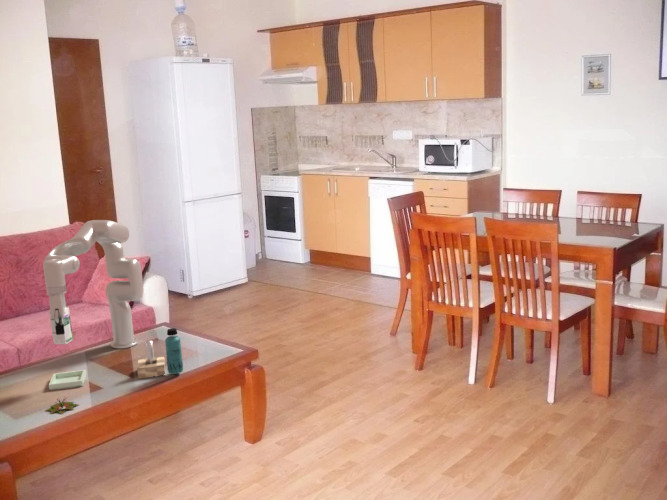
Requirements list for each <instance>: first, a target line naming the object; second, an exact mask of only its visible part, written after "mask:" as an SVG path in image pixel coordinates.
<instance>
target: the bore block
mask: <svg viewBox="0 0 667 500" xmlns="http://www.w3.org/2000/svg"><path fill="white" fill-rule="evenodd" d="M154 359H155V364H149V365H147V358H139V359H138V361H137V366H136V367H137V368H136V369H137V379H146V378H154V377H153V376H155V377H159V376H158V375H163V376H165V375H166V360H165V356H159V357H158V356H157V357H154ZM164 374H165V375H164Z"/></svg>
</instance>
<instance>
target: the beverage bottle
mask: <svg viewBox="0 0 667 500" xmlns="http://www.w3.org/2000/svg"><path fill="white" fill-rule="evenodd" d="M166 334H167V337H166V338H165V340H164V341H165V350H166V351H165V353H166V354H165V355H166V366H167V367H166V368H167V372H168V373H169V374H173V375H175V374H179V373H182V372H183V370H184V365H183V364H184V362H183V356H182V355H183V354H182V344H181V338H180V336H178V335H177V334H178V330H177V328H168V329H167V333H166Z"/></svg>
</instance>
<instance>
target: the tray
mask: <svg viewBox="0 0 667 500" xmlns="http://www.w3.org/2000/svg"><path fill="white" fill-rule="evenodd" d="M86 378H87V369H79V370H73V371H72V370H71V371H64V372H56V373H55V372H54V373H53V374H52V377H51V379H50V381H49V383H48V390H49V391H58V390H65V389H72V388H81V387H84V384H85V381H86Z"/></svg>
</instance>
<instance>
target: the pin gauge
mask: <svg viewBox="0 0 667 500" xmlns="http://www.w3.org/2000/svg"><path fill="white" fill-rule="evenodd" d="M153 343H154V342H153V340H152V339H147V340H145V341H144V347H145V356H146V358H145V359H147V365H149V364H155V359H154V358H155V353H154V352H155V351H154V344H153Z"/></svg>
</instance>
